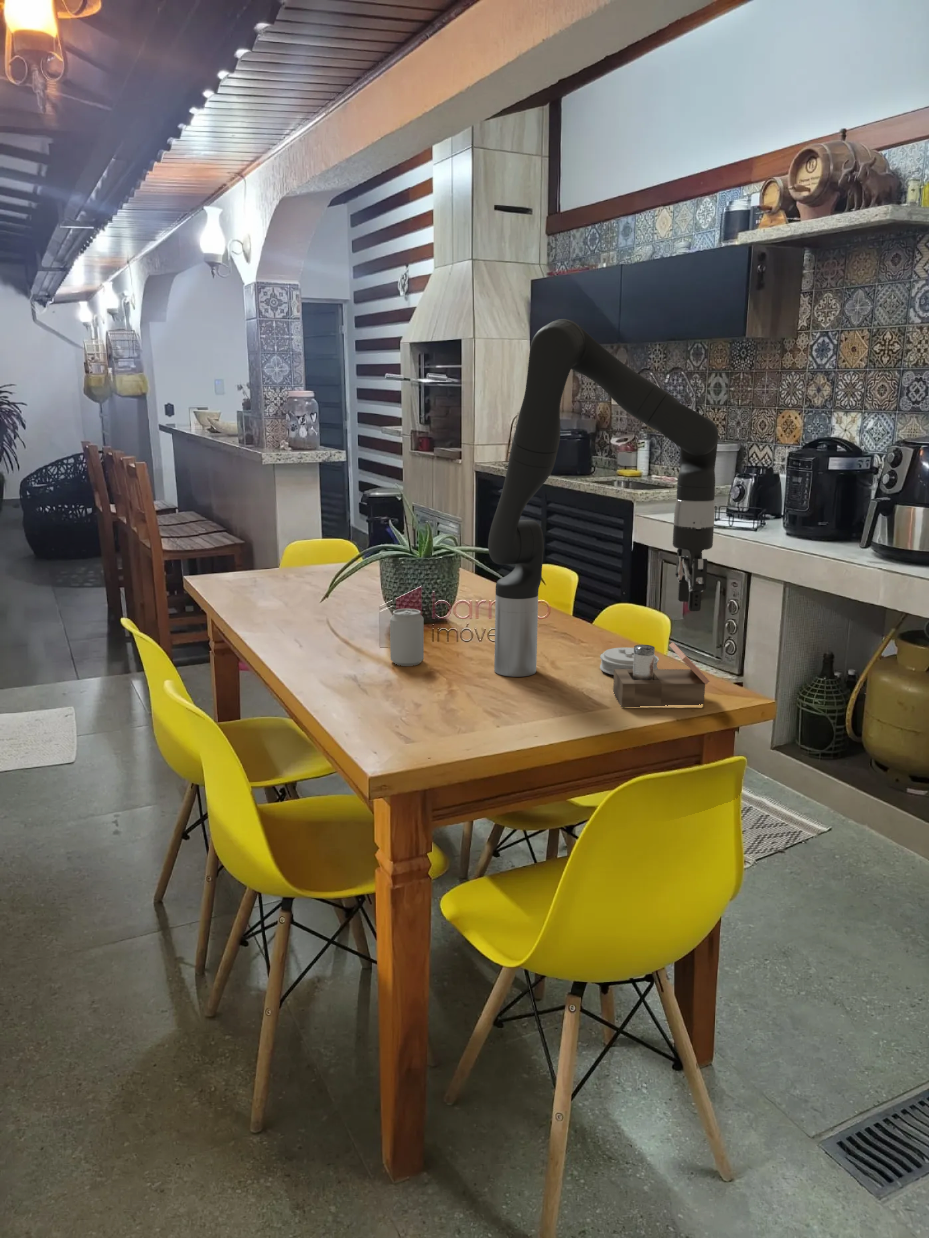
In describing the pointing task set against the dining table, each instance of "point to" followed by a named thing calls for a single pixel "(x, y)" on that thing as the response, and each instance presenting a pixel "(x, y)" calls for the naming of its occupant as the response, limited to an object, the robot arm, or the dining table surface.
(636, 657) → the pin
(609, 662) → the lid
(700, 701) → the socket block
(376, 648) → the dining table surface
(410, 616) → the can
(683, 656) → the pink flat board
